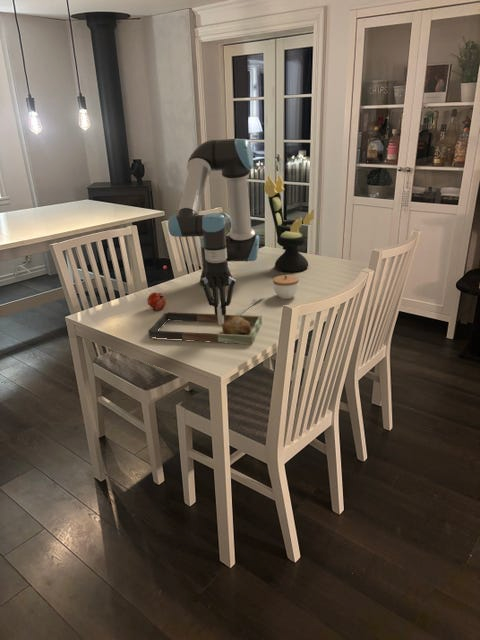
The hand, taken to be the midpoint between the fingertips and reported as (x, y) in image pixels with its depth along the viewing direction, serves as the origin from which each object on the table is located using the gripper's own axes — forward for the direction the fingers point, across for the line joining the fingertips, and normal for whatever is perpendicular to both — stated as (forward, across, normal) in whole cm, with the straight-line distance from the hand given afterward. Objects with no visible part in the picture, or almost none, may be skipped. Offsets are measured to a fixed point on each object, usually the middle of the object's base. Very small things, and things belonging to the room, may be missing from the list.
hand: (221, 323), depth 173 cm
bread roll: (+4, +5, 0) cm, 6 cm away
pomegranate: (+4, -33, +19) cm, 38 cm away
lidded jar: (+4, +18, +38) cm, 42 cm away
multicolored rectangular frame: (+3, -6, 0) cm, 7 cm away
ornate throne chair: (+4, +13, +78) cm, 79 cm away
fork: (+4, +5, +25) cm, 26 cm away
